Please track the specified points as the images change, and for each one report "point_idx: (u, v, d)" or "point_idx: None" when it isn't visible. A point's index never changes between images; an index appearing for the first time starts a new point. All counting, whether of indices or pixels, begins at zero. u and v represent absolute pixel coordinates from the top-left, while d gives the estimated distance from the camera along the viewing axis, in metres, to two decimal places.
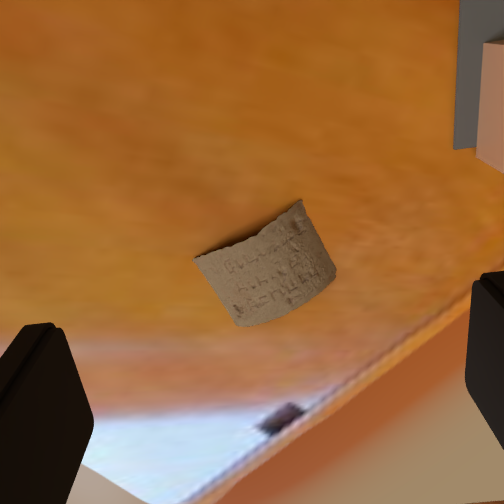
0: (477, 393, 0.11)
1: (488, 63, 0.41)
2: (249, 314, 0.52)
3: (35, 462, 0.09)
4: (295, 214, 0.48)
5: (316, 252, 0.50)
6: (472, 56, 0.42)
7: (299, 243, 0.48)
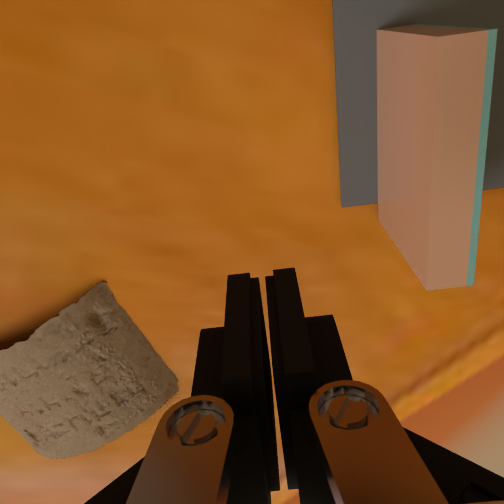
0: None
1: (383, 66, 0.23)
2: (47, 444, 0.34)
3: (269, 391, 0.10)
4: (95, 304, 0.30)
5: (139, 358, 0.32)
6: (359, 53, 0.24)
7: (105, 347, 0.30)
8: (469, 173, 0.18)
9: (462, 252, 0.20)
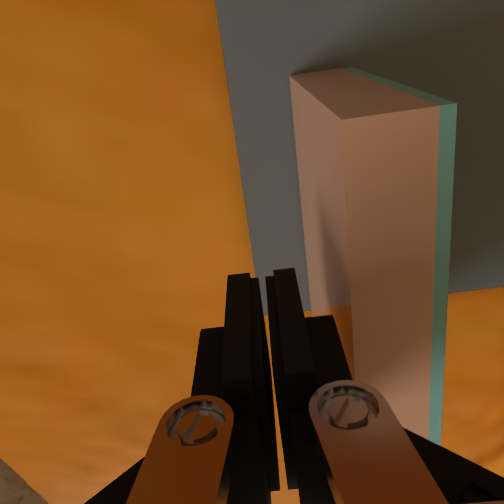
0: None
1: (298, 131, 0.15)
2: None
3: (269, 391, 0.10)
4: None
5: (6, 501, 0.24)
6: (265, 109, 0.16)
7: None
8: (419, 343, 0.10)
9: None
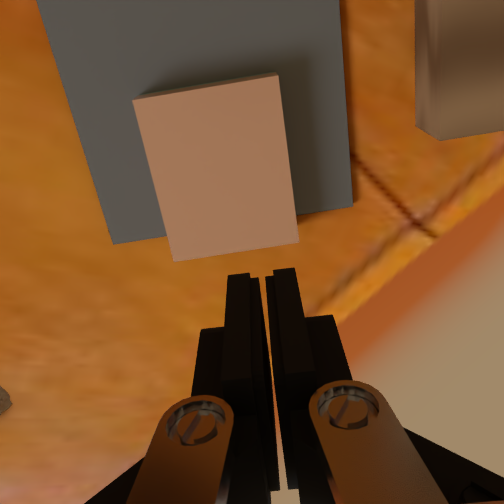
0: None
1: (160, 125, 0.27)
2: None
3: (269, 391, 0.10)
4: None
5: None
6: (93, 120, 0.28)
7: None
8: None
9: None
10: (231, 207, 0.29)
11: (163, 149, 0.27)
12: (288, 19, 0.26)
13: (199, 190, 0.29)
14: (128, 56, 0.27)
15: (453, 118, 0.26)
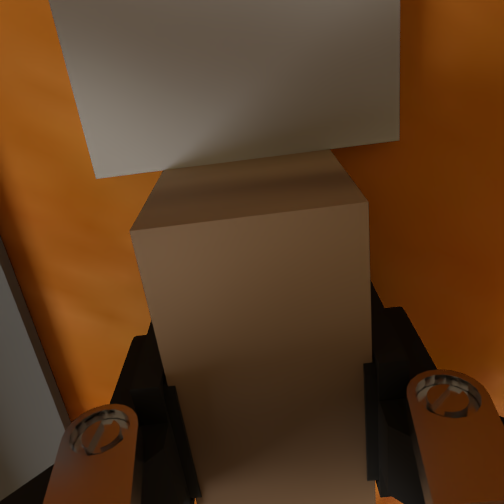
0: None
1: None
2: None
3: None
4: None
5: None
6: None
7: None
8: None
9: None
10: None
11: None
12: None
13: None
14: None
15: None
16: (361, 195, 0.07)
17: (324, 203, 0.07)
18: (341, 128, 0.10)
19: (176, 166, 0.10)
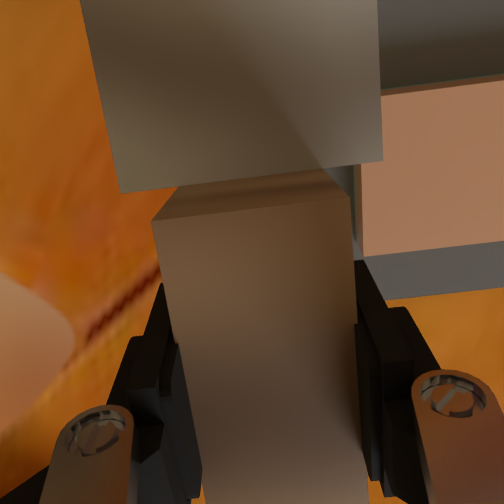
0: None
1: (393, 232, 0.25)
2: None
3: None
4: None
5: None
6: None
7: None
8: (457, 81, 0.23)
9: None
10: None
11: (419, 232, 0.25)
12: None
13: (476, 197, 0.24)
14: None
15: None
16: (344, 193, 0.09)
17: (313, 199, 0.09)
18: (332, 150, 0.11)
19: (190, 183, 0.12)
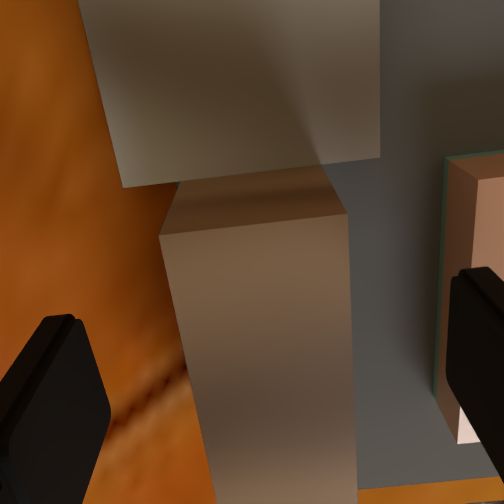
0: (456, 386, 0.11)
1: None
2: None
3: (59, 448, 0.09)
4: None
5: None
6: (457, 458, 0.17)
7: None
8: None
9: None
10: None
11: None
12: None
13: None
14: (369, 403, 0.16)
15: None
16: (342, 208, 0.09)
17: (313, 214, 0.09)
18: (331, 147, 0.12)
19: (191, 178, 0.12)
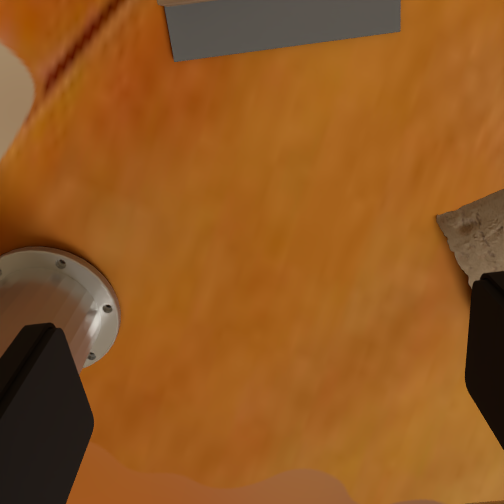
0: (477, 393, 0.11)
1: None
2: None
3: (35, 462, 0.09)
4: (453, 225, 0.40)
5: None
6: (284, 29, 0.34)
7: (491, 224, 0.39)
8: None
9: None
10: None
11: None
12: None
13: None
14: None
15: None
16: None
17: None
18: None
19: None
